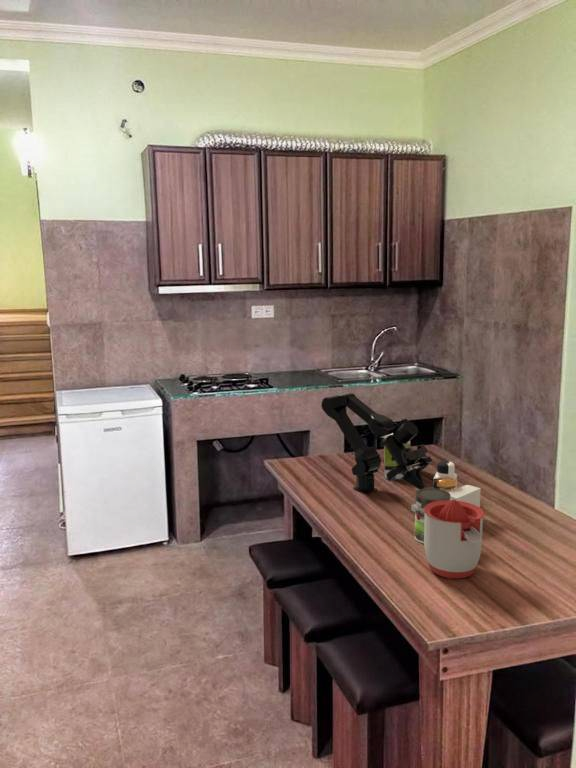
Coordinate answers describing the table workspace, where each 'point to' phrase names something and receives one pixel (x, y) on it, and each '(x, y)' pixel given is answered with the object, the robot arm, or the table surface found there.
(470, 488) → the knob mount
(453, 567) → the citrus juicer
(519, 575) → the table surface
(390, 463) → the tea box
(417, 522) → the coffee can
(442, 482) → the knob
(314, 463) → the table surface
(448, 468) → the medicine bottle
